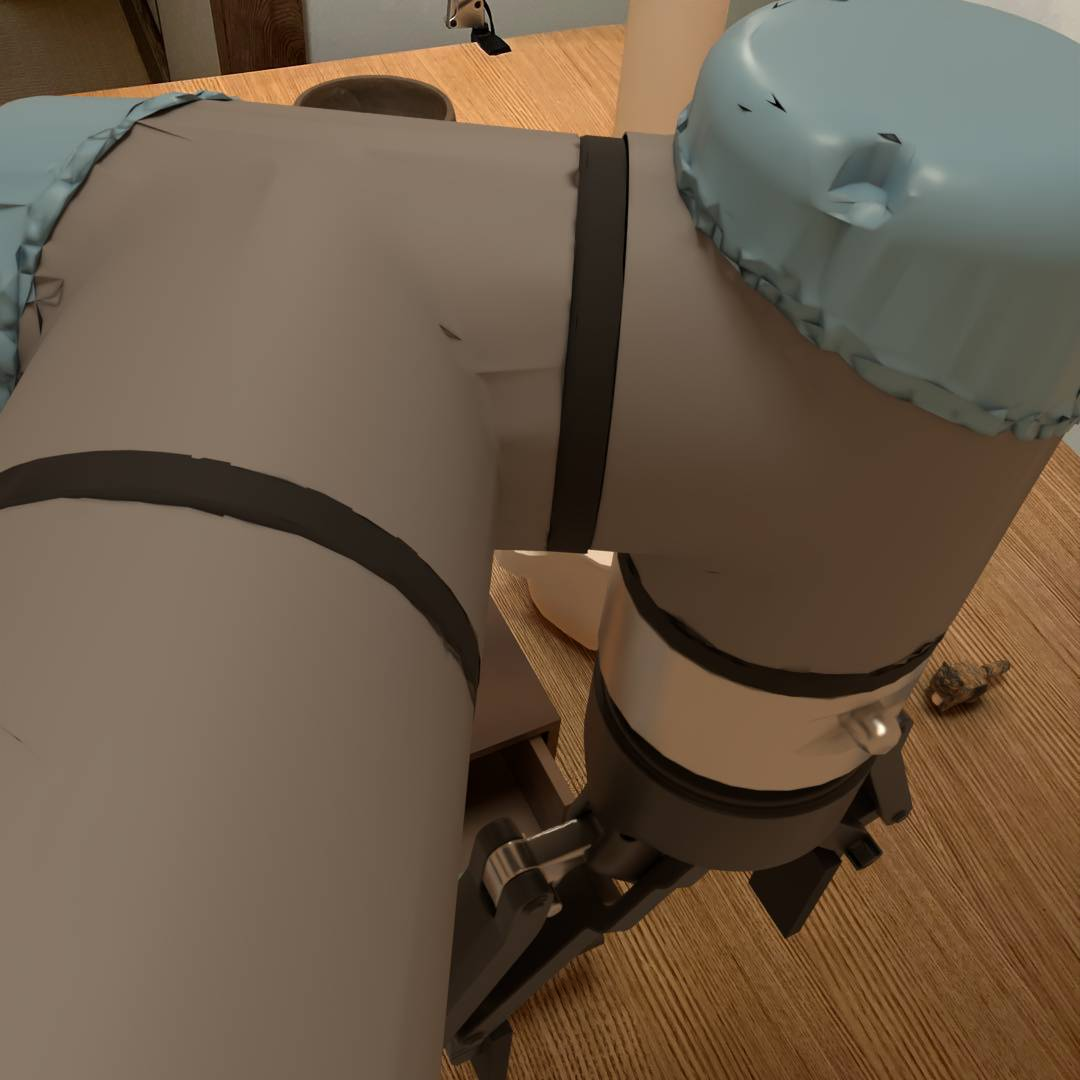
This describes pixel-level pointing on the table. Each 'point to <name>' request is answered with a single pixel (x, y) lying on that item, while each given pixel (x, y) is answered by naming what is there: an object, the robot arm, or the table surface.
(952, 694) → the cat figurine
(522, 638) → the table surface
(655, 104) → the tall pillar cylinder
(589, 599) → the pot
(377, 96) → the bowl
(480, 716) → the cabinet
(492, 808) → the drawer
